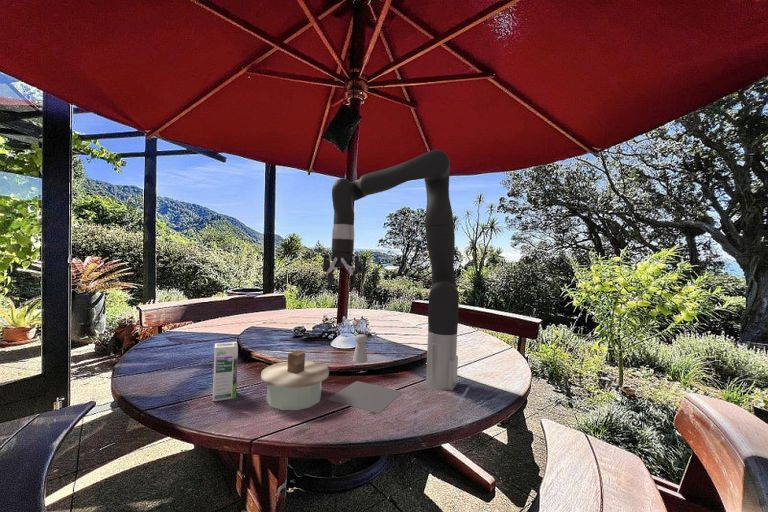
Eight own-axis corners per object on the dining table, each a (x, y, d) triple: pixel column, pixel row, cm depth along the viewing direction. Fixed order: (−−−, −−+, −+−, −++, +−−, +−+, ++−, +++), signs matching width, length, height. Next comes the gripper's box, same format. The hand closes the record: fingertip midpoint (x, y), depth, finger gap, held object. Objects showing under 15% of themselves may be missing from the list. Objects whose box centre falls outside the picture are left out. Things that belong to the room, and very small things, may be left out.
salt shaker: (365, 375, 112) (367, 337, 112) (349, 374, 113) (351, 336, 113) (369, 370, 118) (371, 333, 118) (354, 368, 119) (355, 332, 119)
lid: (341, 371, 95) (342, 350, 95) (299, 393, 79) (300, 368, 79) (292, 360, 103) (293, 341, 103) (245, 378, 87) (246, 355, 87)
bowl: (330, 396, 94) (331, 372, 94) (297, 417, 82) (298, 388, 82) (292, 386, 100) (293, 363, 100) (255, 404, 88) (256, 377, 88)
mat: (402, 393, 98) (402, 391, 98) (378, 415, 84) (378, 413, 84) (356, 382, 105) (356, 380, 105) (326, 401, 91) (327, 399, 91)
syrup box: (212, 402, 88) (215, 347, 88) (212, 393, 93) (214, 342, 93) (236, 398, 90) (238, 345, 90) (234, 390, 95) (237, 340, 96)
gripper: (366, 239, 114) (364, 286, 114) (332, 238, 120) (330, 283, 120) (355, 237, 107) (353, 287, 107) (319, 237, 113) (317, 284, 113)
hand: (341, 285), depth 114 cm, fingers open, 8 cm apart
